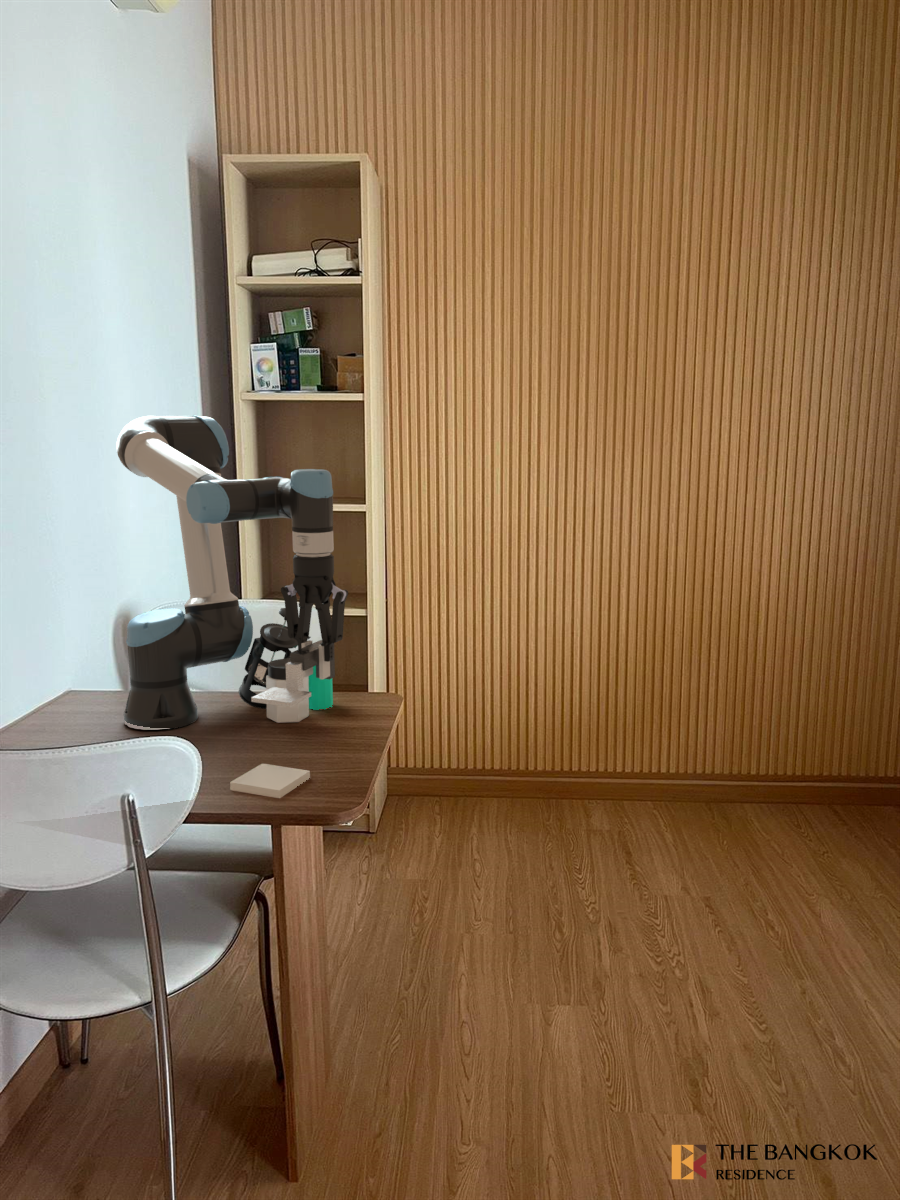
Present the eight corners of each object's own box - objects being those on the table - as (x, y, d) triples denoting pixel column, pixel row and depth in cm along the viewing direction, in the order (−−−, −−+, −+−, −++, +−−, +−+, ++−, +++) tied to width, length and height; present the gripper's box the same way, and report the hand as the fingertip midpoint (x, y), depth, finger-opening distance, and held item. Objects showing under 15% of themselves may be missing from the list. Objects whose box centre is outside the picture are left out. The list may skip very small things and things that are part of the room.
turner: (310, 673, 188) (309, 638, 187) (346, 678, 185) (345, 642, 184) (251, 701, 170) (250, 663, 169) (290, 707, 167) (289, 668, 166)
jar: (315, 718, 207) (314, 664, 204) (281, 726, 202) (280, 670, 199) (294, 708, 214) (293, 656, 211) (261, 715, 208) (259, 661, 206)
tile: (262, 763, 176) (230, 782, 167) (309, 770, 172) (279, 790, 163) (262, 773, 176) (230, 792, 167) (310, 780, 173) (279, 801, 163)
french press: (289, 706, 217) (320, 623, 207) (255, 714, 210) (285, 628, 200) (260, 675, 223) (289, 593, 213) (226, 682, 216) (254, 597, 206)
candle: (316, 700, 220) (314, 649, 218) (338, 704, 217) (337, 652, 215) (300, 707, 215) (299, 655, 212) (323, 711, 212) (321, 658, 210)
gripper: (264, 553, 178) (269, 676, 182) (341, 559, 171) (343, 686, 176) (287, 548, 184) (290, 667, 189) (361, 553, 178) (363, 676, 183)
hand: (316, 676), depth 182 cm, fingers closed on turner, 3 cm apart
